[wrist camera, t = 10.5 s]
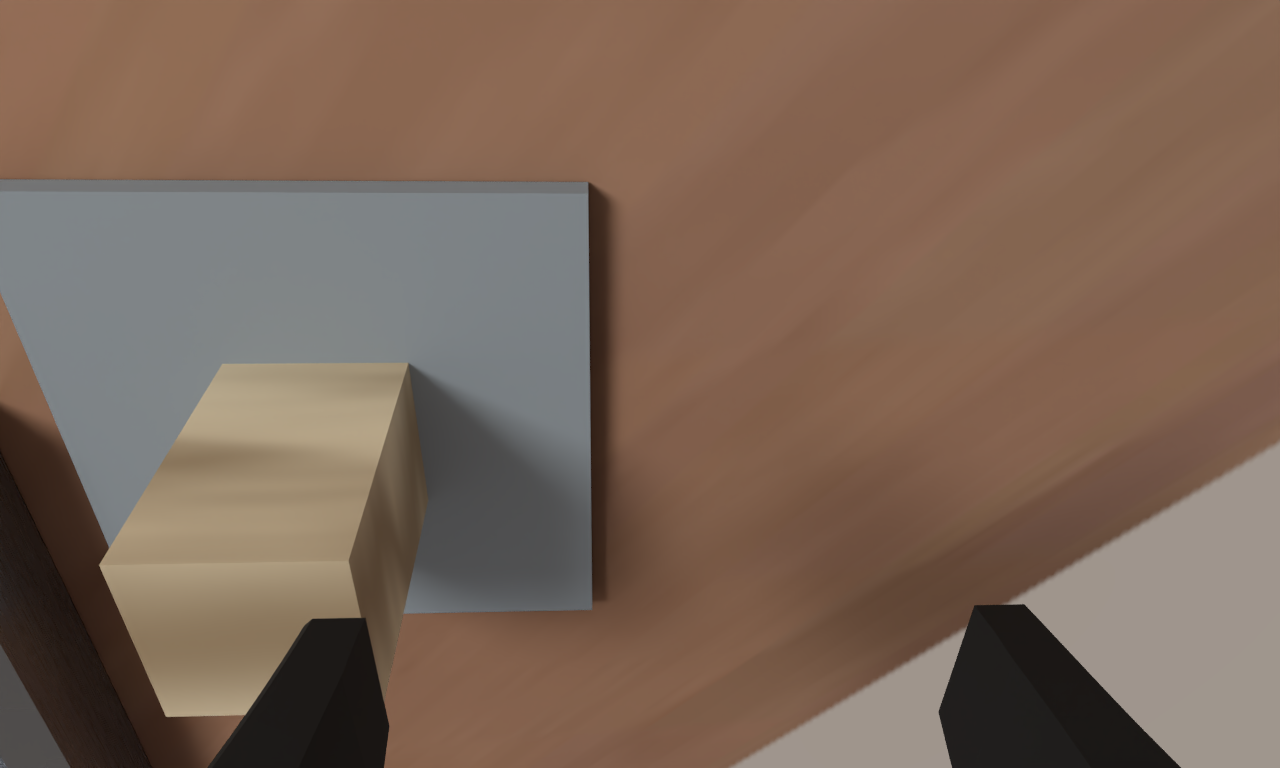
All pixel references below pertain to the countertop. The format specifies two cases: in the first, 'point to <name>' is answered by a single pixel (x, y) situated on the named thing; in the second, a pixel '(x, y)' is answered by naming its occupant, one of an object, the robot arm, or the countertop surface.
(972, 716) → the robot arm
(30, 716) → the tray
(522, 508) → the mat
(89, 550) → the countertop surface
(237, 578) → the peg
